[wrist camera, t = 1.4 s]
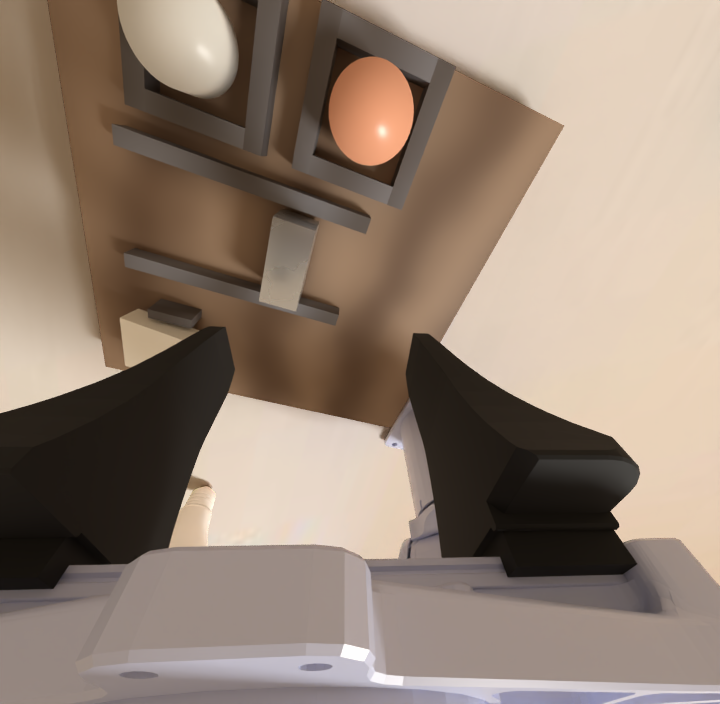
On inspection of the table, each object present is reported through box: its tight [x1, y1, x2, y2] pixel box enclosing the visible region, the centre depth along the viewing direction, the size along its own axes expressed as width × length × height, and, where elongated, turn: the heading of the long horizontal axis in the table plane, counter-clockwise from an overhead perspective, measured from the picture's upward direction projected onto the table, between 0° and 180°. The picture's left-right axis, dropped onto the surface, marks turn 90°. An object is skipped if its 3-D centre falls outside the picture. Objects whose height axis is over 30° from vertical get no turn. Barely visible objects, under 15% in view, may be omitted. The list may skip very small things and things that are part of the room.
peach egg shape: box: [329, 57, 414, 166], centre depth 12 cm, size 3×3×2 cm
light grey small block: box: [259, 209, 320, 312], centre depth 16 cm, size 2×4×2 cm, turn 161°
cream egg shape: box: [117, 0, 239, 99], centre depth 10 cm, size 3×3×2 cm
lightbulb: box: [169, 486, 216, 548], centre depth 28 cm, size 6×6×11 cm
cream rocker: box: [120, 309, 199, 367], centre depth 19 cm, size 5×4×1 cm
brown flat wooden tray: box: [47, 0, 564, 428], centre depth 18 cm, size 22×22×4 cm
